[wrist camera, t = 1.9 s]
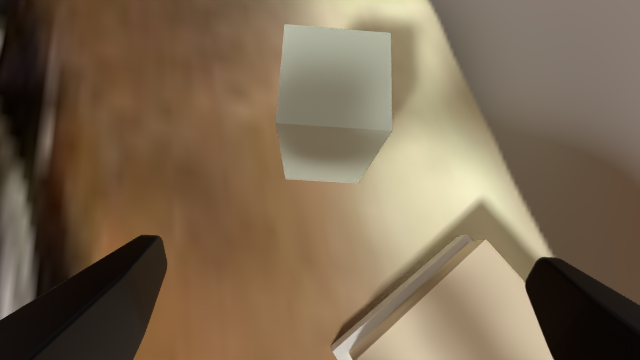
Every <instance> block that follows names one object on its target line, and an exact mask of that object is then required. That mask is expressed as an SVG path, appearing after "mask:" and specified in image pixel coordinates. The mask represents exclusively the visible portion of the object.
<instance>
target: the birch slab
mask: <svg viewBox="0 0 640 360" xmlns="http://www.w3.org/2000/svg"><path fill="white" fill-rule="evenodd" d="M349 354H350V356H351V358H352V360H554V359H553V357H552V355H551V353H550V351H549V348H548V346H547V344H546V341H545V339H544V336H543V334H542V331H541V328H540V326H539V323H538V321H537V318H536V316H535V313H534V310H533V308H532V305H531V303H530V300H529V298H528V295H527V292H526V289H525V282H524V281H523V280H522V278H521V277H520V276H519V275H518V274H517V273H516V272H515V271H514V270H513V268H512V267H511V266H510V265H509V264H508V263H507V262H506V261H505V260H504V258H503V257H502V256H501V255H500V254H499V253H498V252H497V251H496V250H495V248H494V247H493V246H492V245H491V244H490V243H489V242H488V241H487V240H486V239H484V240H477V241H470V242H468V243H467V244H466V245H465V246H464V247H463V248H462V249H461V250H459V251H458V252H457V253H456V254H455V255H454V256H453V257H452V258H451V259H450V260H449V261H447V262H446V263H445V264H444V265H443V266H442V267H441V268H440V269H439V270H438V271H437V272H435V273H434V274H433V275H432V276H431V277H430V278H429V279H428V280H427V281H426V282H425V283H423V284H422V285H421V286H420V287H419V288H418V289H417V290H416V291H415V292H414V293H413V294H412V295H410V296H409V297H408V298H407V299H406V300H405V301H404V302H403V303H402V304H401V305H400V306H398V307H397V308H396V309H395V310H394V311H393V312H392V313H391V314H390V315H389V316H388V317H386V318H385V319H384V320H383V321H382V322H381V323H380V324H379V325H378V326H377V327H376V328H374V329H373V330H372V331H371V332H370V333H369V334H368V335H367V336H366V337H365V338H364V339H362V340H361V341H360V342H359V343H358V344H357V345H356V346H355V347H354V348H353V349H352V350H351V351H349Z"/></svg>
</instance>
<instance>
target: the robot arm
mask: <svg viewBox="0 0 640 360" xmlns="http://www.w3.org/2000/svg"><path fill="white" fill-rule="evenodd" d="M166 270H167V259H166V254H165V250H164V245H163V241H162V238H161V237H160V236H157V235H141V236H139V237H137V238H135V239H133V240H132V241H130V242H129V243H127V244H125V245H124V246H122V247H120V248H119V249H117V250H115V251H114V252H112V253H110V254H109V255H107V256H105V257H104V258H102V259H100V260H99V261H97V262H96V263H94V264H92V265H91V266H89V267H87V268H86V269H84V270H82V271H81V272H79V273H77V274H76V275H74V276H72V277H71V278H69V279H67V280H66V281H64V282H63V283H61V284H59V285H58V286H56V287H54V288H53V289H51V290H49V291H48V292H46V293H44V294H43V295H41V296H39V297H38V298H36V299H34V300H33V301H31V302H30V303H28V304H26V305H25V306H23V307H21V308H20V309H18V310H16V311H15V312H13V313H11V314H10V315H8V316H6V317H5V318H3V319H1V320H0V360H133V359H134V357H135V354H136V352H137V350H138V348H139V346H140V343H141V341H142V339H143V337H144V334H145V332H146V329H147V326H148V323H149V320H150V318H151V315H152V312H153V309H154V306H155V303H156V300H157V297H158V294H159V291H160V288H161V285H162V282H163V279H164V277H165V274H166ZM525 289H526V292H527V295H528V298H529V300H530V303H531V305H532V308H533V310H534V313H535V316H536V318H537V321H538V323H539V326H540V328H541V331H542V334H543V336H544V339H545V341H546V344H547V346H548V348H549V351H550V353H551V355H552V357H553V359H554V360H640V305H638V304H637V303H635V302H633V301H632V300H630V299H628V298H626V297H625V296H623V295H621V294H620V293H618V292H616V291H615V290H613V289H611V288H609V287H608V286H606V285H604V284H602V283H601V282H599V281H597V280H596V279H594V278H592V277H591V276H589V275H587V274H585V273H584V272H582V271H580V270H579V269H577V268H575V267H573V266H571V265H570V264H568V263H566V262H565V261H563V260H561V259H559V258H552V257H541V258H539V259H538V260H537V261H536V263H535V264H534V266H533V268H532V270H531V272H530V273H529V275H528V277H527V279H526V281H525Z"/></svg>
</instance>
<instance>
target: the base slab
mask: <svg viewBox="0 0 640 360" xmlns="http://www.w3.org/2000/svg"><path fill="white" fill-rule="evenodd" d="M470 241H473V240H472V239H471V238H470V237H469V235H468V234H465V235H460V236H457V237H456V238H455V239H453V240H452V241H451V242H450V243H449V244H448V245H446V246H445V247H444V248H443V249H442V250H441V251H440V252H438V253H437V254H436V255H435V256H434V257H433V258H431V259H430V260H429V261H428V262H427V263H426V264H425V265H423V266H422V267H421V268H420V269H419V270H418V271H416V272H415V273H414V274H413V275H412V276H411V277H410V278H408V279H407V280H406V281H405V282H404V283H403V284H401V285H400V286H399V287H398V288H397V289H396V290H395V291H393V292H392V293H391V294H390V295H389V296H388V297H386V298H385V299H384V300H383V301H382V302H381V303H380V304H378V305H377V306H376V307H375V308H374V309H373V310H371V311H370V312H369V313H368V314H367V315H366V316H365V317H363V318H362V319H361V320H360V321H359V322H358V323H356V324H355V325H354V326H353V327H352V328H351V329H350V330H348V331H347V332H346V333H345V334H344V335H343V336H341V337H340V338H339V339H338V340H337V341H336V342H335V343H333V344H332V345H331V346H330V347H331V350H332V352H333V353H334V355H335V356H336V358H337V359H338V360H352V358H351V356H350V354H349V351H351V350H352V349H353V348H354V347H355V346H356V345H357V344H358V343H359V342H360V341H361V340H362V339H364V338H365V337H366V336H367V335H368V334H369V333H370V332H371V331H372V330H373V329H374V328H376V327H377V326H378V325H379V324H380V323H381V322H382V321H383V320H384V319H385V318H386V317H388V316H389V315H390V314H391V313H392V312H393V311H394V310H395V309H396V308H397V307H398V306H400V305H401V304H402V303H403V302H404V301H405V300H406V299H407V298H408V297H409V296H410V295H412V294H413V293H414V292H415V291H416V290H417V289H418V288H419V287H420V286H421V285H422V284H423V283H425V282H426V281H427V280H428V279H429V278H430V277H431V276H432V275H433V274H434V273H435V272H437V271H438V270H439V269H440V268H441V267H442V266H443V265H444V264H445V263H446V262H447V261H449V260H450V259H451V258H452V257H453V256H454V255H455V254H456V253H457V252H458V251H459V250H461V249H462V248H463V247H464V246H465V245H466V244H467V243H468V242H470Z"/></svg>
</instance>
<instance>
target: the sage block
mask: <svg viewBox="0 0 640 360" xmlns="http://www.w3.org/2000/svg"><path fill="white" fill-rule="evenodd" d="M276 127H277V133H278V139H279V145H280V150H281V156H282V162H283V167H284V173H285V179H292V180H309V181H326V182H342V183H358V182H359V180H360V179H361V177H362V176H363V174H364V173H365V171H366V170H367V168H368V167H369V165H370V164H371V162H372V161H373V159H374V158H375V156H376V155H377V153H378V152H379V150H380V149H381V147H382V145H383V144H384V142H385V141H386V139H387V138H388V136H389V135H390V133H391V132H392V76H391V33H387V32H375V31H362V30H349V29H337V28H324V27H312V26H299V25H286V24H285V26H284V37H283V48H282V59H281V70H280V81H279V92H278V103H277V115H276Z"/></svg>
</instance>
